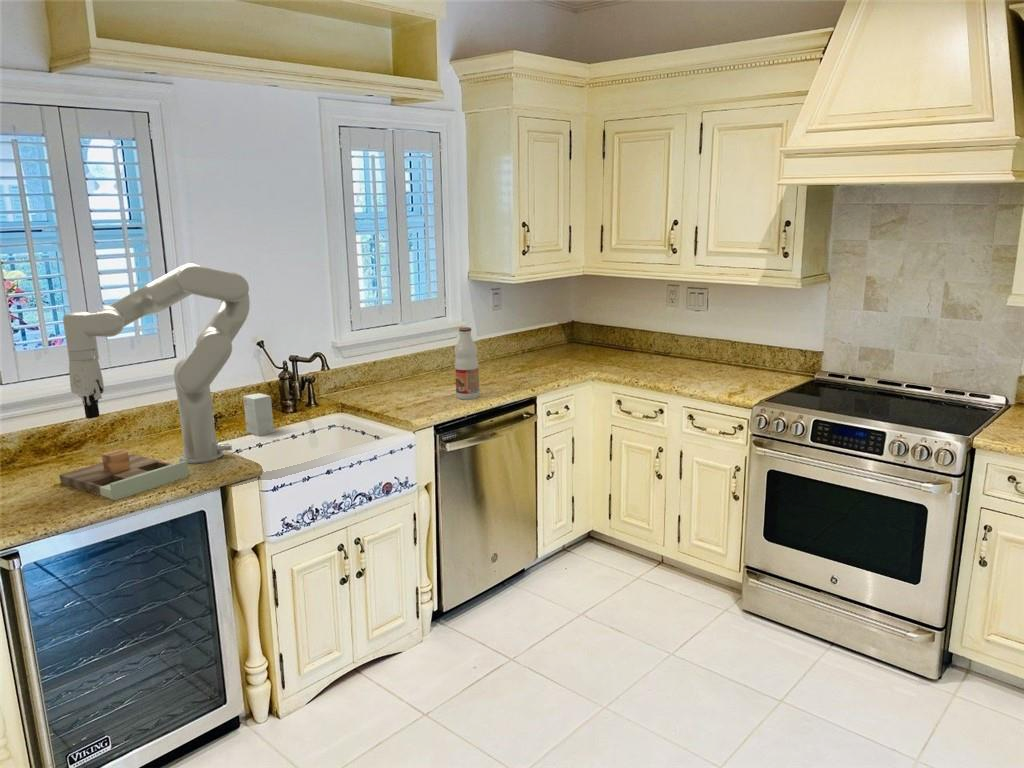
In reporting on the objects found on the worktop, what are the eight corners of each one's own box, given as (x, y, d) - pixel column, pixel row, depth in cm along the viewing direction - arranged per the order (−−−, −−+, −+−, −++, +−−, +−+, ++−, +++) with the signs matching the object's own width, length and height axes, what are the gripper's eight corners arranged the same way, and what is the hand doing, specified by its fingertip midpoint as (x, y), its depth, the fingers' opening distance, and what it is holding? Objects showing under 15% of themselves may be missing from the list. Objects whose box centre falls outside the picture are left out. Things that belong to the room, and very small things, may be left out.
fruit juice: (479, 399, 304) (476, 329, 298) (455, 400, 304) (452, 330, 298) (480, 394, 313) (477, 326, 307) (456, 394, 313) (453, 326, 307)
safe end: (100, 495, 208) (98, 480, 207) (174, 472, 226) (172, 457, 225) (115, 500, 204) (112, 484, 203) (188, 476, 222) (187, 461, 221)
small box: (274, 432, 266) (271, 395, 263) (258, 436, 261) (254, 399, 259) (262, 428, 271) (259, 392, 268) (246, 432, 267) (242, 395, 264)
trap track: (60, 483, 219) (59, 474, 219) (133, 461, 237) (132, 454, 237) (100, 495, 208) (99, 487, 207) (174, 472, 226) (173, 464, 225)
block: (104, 470, 221) (101, 454, 220) (120, 465, 225) (118, 449, 224) (113, 473, 219) (111, 456, 218) (130, 468, 223) (128, 451, 222)
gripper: (56, 355, 221) (66, 417, 225) (84, 359, 213) (93, 423, 217) (82, 351, 227) (91, 411, 231) (110, 355, 219) (119, 417, 223)
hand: (92, 417), depth 224 cm, fingers closed
